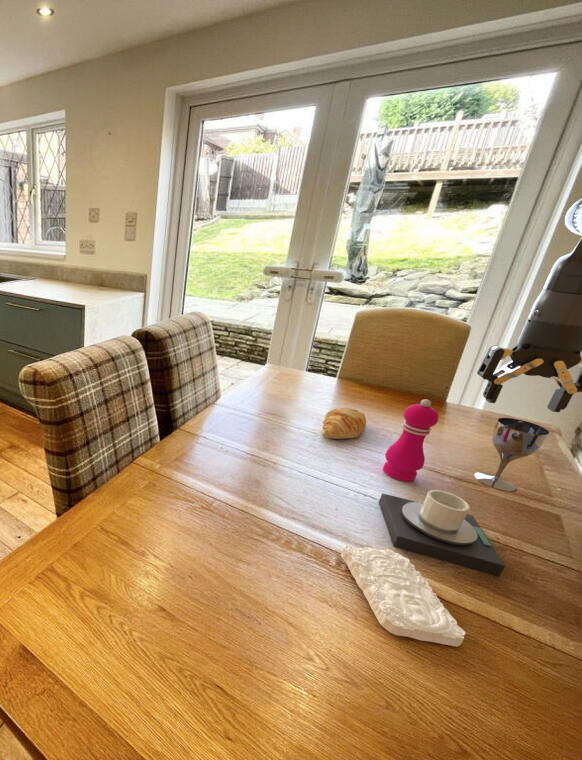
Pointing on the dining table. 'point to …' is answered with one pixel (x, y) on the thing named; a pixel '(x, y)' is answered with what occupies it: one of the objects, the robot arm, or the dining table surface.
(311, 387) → the dining table surface
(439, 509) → the white short hollow cylinder
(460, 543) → the scale pan
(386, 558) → the carved plaster tablet
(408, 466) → the pepper mill
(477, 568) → the scale
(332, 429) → the croissant
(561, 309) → the robot arm
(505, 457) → the wine glass
